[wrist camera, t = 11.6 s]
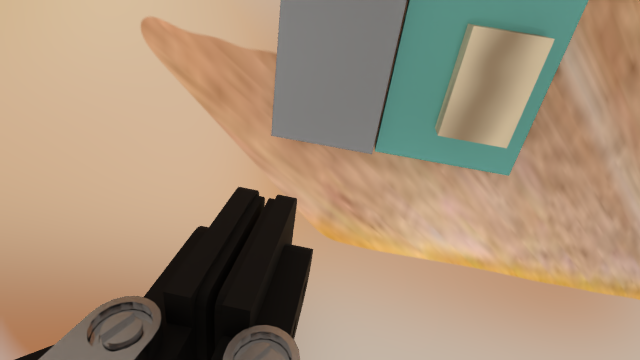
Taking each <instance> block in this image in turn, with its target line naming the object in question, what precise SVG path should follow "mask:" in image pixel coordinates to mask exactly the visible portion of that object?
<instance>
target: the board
mask: <svg viewBox="0 0 640 360" xmlns="http://www.w3.org/2000/svg"><path fill="white" fill-rule="evenodd" d="M406 2H407V0H281V5H280V18H279V33H278V47H277V62H276V76H275V91H274V105H273V120H272V134H271V136H276V137H281V138H287V139H292V140H298V141H303V142H309V143H314V144H320V145H325V146H331V147H336V148H342V149H347V150H352V151H358V152H363V153H369V154H372V152H373V147H374V143H375V138H376V134H377V130H378V125H379V121H380V116H381V112H382V108H383V103H384V99H385V94H386V90H387V85H388V81H389V77H390V72H391V68H392V63H393V59H394V55H395V50H396V46H397V41H398V37H399V33H400V28H401V24H402V19H403V15H404V11H405V6H406Z"/></svg>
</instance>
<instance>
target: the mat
mask: <svg viewBox="0 0 640 360" xmlns="http://www.w3.org/2000/svg"><path fill="white" fill-rule="evenodd" d="M587 2H588V0H409V1H408V6H407V10H406V14H405V19H404V23H403V27H402V32H401V36H400V40H399V45H398V49H397V54H396V58H395V62H394V67H393V71H392V75H391V80H390V84H389V88H388V93H387V97H386V102H385V106H384V110H383V115H382V119H381V123H380V128H379V132H378V136H377V141H376V145H375V151H376V152H382V153H387V154H393V155H398V156H404V157H409V158H415V159H420V160H426V161H431V162H437V163H442V164H448V165H453V166H459V167H464V168H470V169H475V170H481V171H486V172H492V173H497V174H503V175H508V176H509V174H510V172H511V170H512V167H513V165H514V163H515V161H516V159H517V156H518V154H519V152H520V150H521V148H522V145H523V143H524V141H525V139H526V137H527V134H528V132H529V130H530V128H531V126H532V123H533V121H534V119H535V117H536V115H537V112H538V110H539V108H540V106H541V104H542V101H543V99H544V97H545V95H546V93H547V90H548V88H549V86H550V84H551V82H552V79H553V77H554V75H555V73H556V71H557V68H558V66H559V64H560V62H561V60H562V57H563V55H564V53H565V51H566V49H567V46H568V44H569V42H570V40H571V38H572V35H573V33H574V31H575V29H576V27H577V24H578V22H579V20H580V18H581V16H582V13H583V11H584V9H585V7H586V5H587ZM468 24H474V25H480V26H486V27H492V28H498V29H505V30H511V31H517V32H523V33H529V34H535V35H541V36H546V37H549V38H553V39H555V40H554V42H553V45H552V47H551V49H550V51H549V54H548V56H547V58H546V61H545V63H544V65H543V67H542V70H541V72H540V74H539V76H538V79H537V81H536V83H535V85H534V88H533V90H532V92H531V95H530V97H529V99H528V101H527V104H526V106H525V108H524V110H523V113H522V115H521V117H520V120H519V122H518V124H517V126H516V129H515V131H514V133H513V135H512V138H511V140H510V142H509V145H508V147H507V148H502V147H497V146H491V145H486V144H481V143H475V142H470V141H464V140H459V139H453V138H448V137H442V136H438V135H437V132H436V130H435V126H436V123H437V119H438V116H439V113H440V110H441V107H442V104H443V101H444V97H445V94H446V91H447V88H448V85H449V82H450V79H451V76H452V72H453V69H454V66H455V63H456V60H457V57H458V54H459V50H460V47H461V44H462V41H463V38H464V35H465V32H466V29H467V25H468Z"/></svg>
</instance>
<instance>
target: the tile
mask: <svg viewBox="0 0 640 360" xmlns="http://www.w3.org/2000/svg"><path fill="white" fill-rule="evenodd" d="M554 40H555V39H553V38H549V37H546V36H541V35H535V34H529V33H523V32H517V31H511V30H505V29H498V28H492V27H486V26H480V25H474V24H468V25H467V29H466V32H465V35H464V38H463V41H462V44H461V47H460V50H459V54H458V57H457V60H456V63H455V66H454V69H453V72H452V76H451V79H450V82H449V85H448V88H447V91H446V94H445V97H444V101H443V104H442V107H441V110H440V113H439V116H438V119H437V123H436V126H435V130H436V132H437V135H438V136H442V137H448V138H453V139H459V140H464V141H470V142H475V143H481V144H486V145H491V146H497V147H502V148H507V147H508V145H509V142H510V140H511V138H512V135H513V133H514V131H515V129H516V126H517V124H518V122H519V120H520V117H521V115H522V113H523V110H524V108H525V106H526V104H527V101H528V99H529V97H530V95H531V92H532V90H533V88H534V85H535V83H536V81H537V79H538V76H539V74H540V72H541V70H542V67H543V65H544V63H545V61H546V58H547V56H548V54H549V51H550V49H551V47H552V45H553V42H554Z"/></svg>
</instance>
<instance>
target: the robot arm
mask: <svg viewBox="0 0 640 360" xmlns="http://www.w3.org/2000/svg"><path fill="white" fill-rule="evenodd" d="M264 203H265V198H264V197H261V196H259V192H258V191H257V190H252V189H247V188H242V187H238V188H237V189H236V191H235V192H234V194H233V195H232V196H231V198H230V199H229V200H228V202H227V203H226V205H225V206H224V207H223V209H222V210H221V212H220V213H219V214H218V216H217V217H216V219H215V220H214V221H213V223H212V224H211V226H210V227H203V226H200V227H198V228H197V229H196V230H195V231H194V232H193V233H192V235H191V236H190V238H189V239H188V240H187V241H186V243H185V244H184V245H183V247H182V248H181V249H180V251H179V252H178V253H177V254H176V256H175V257H174V258H173V260H172V261H171V262H170V263H169V265H168V266H167V267H166V269H165V270H164V272H163V273H162V274H161V275H160V277H159V278H158V279H157V280H156V282H155V283H154V284H153V286H152V287H151V288H150V290H149V291H148V292H147V293H146V295H145V296H144V297H139V296H126V297H122V298H117V299H113V300H111V301H109V302H107V303H105V304H102V305H101V306H100V307H98V308H96V309H95V310H94V311H92V312H91V313H90V314H89V315H88V316H86V317H85V318H84V319H83V320H82V321H81V322H80V323H79V324H78V325H76V326H75V327H74V328H73V329H72V330H71V331H70V332H69V333H67V334H66V335H65V336H64V337H63V338H62V339H61V340H60V341H58V342H57V343H56V344H55V345H52V346H50V347H47V348H44V349H42V350H39V351H36V352H34V353H31V354H28V355H26V356H23V357H20V358H18V359H15V360H300V356H299V349H298V347H297V345H296V343H295V341H294V337H295V333H296V329H297V325H298V321H299V316H300V313H301V308H302V305H303V300H304V296H305V291H306V287H307V282H308V277H309V272H310V266H311V259H312V254H313V249H310V248H305V247H300V246H295V245H292V237H293V229H294V221H295V213H296V205H297V198H292V197H287V196H282V195H277V196H276V198H275V199H271V198H269V199H268V201H267V203H266V205H265V207H264Z"/></svg>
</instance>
